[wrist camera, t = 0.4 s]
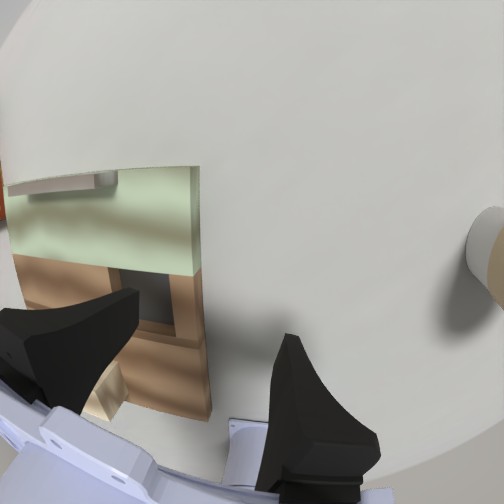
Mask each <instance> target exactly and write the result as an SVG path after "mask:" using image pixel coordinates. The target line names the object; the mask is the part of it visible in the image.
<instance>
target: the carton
mask: <svg viewBox="0 0 504 504" xmlns="http://www.w3.org/2000/svg"><path fill="white" fill-rule="evenodd" d="M3 186H4V184H3V178H2V170H1V162H0V221H1V220H3V219H5V218H6V213H5V204H4V193H3Z"/></svg>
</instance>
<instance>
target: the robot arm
mask: <svg viewBox="0 0 504 504" xmlns="http://www.w3.org/2000/svg"><path fill="white" fill-rule="evenodd" d="M139 295H140V291H139V290H136V289H133V288H130V287H128V288H125V289H121V290H118V291H116V292H113V293H110V294H107V295H104V296H101V297H98V298H96V299H92V300H89V301H86V302H82V303H79V304H75V305H71V306H66V307H60V308H52V309H42V310H22V309H11V308H4V309H2V310H1V311H0V435H1V436H2V437H3V438H4V439H5V440H6V441H7V442H8V443H9V444H10V445H11V446H12V447H13V448H14V449H16V450H17V451H18V452H19V454H18V455H17V457H16V458H15V459H14V461H13V462H12V463H11V465H10V466H9V467H8V469H7V470H6V472H5V473H4V474H3V476H2V477H1V479H0V504H395V500H394V495H393V488H391V487H389V488H378V489H367V490H364V491H361V492H360V485H361V484H363V475H364V474H365V473H366V472H367V471H368V470H370V469H371V468H372V467H373V466H374V465H375V464H376V463H377V462H378V461H379V459H380V457H381V453H380V447H379V442H378V438H377V435H376V433H374V432H373V431H371V430H370V429H368V428H367V427H366V426H364V425H363V424H361V423H360V422H359V421H358V420H356V419H355V418H354V417H353V416H352V415H350V414H349V413H348V412H347V411H346V410H345V409H344V408H343V407H342V406H341V405H340V404H339V403H338V402H337V401H336V399H335V398H334V397H333V396H332V395H331V393H330V392H329V391H328V390H327V388H326V387H325V386H324V384H323V383H322V381H321V380H320V378H319V376H318V375H317V373H316V371H315V370H314V368H313V366H312V364H311V362H310V360H309V358H308V356H307V354H306V352H305V350H304V347H303V345H302V343H301V340H300V338H299V336H296V335H292V334H287V333H285V336H284V339H283V341H282V344H281V347H280V350H279V352H278V355H277V358H276V360H275V363H274V366H273V372H272V378H271V385H270V404H269V421H268V423H262V422H252V421H244V420H236V419H230V420H229V439H230V450H229V454H228V458H227V462H226V466H225V470H224V474H223V478H222V482H221V484H220V483H216V482H212V481H208V480H204V479H201V478H197V477H194V476H190V475H187V474H184V473H181V472H178V471H175V470H172V469H169V468H166V467H163V466H161V465H158V464H157V463H156V462H155V460H154V459H153V457H152V456H151V455H150V454H149V453H147V452H146V451H145V450H144V449H142V448H141V447H139V446H137V445H135V444H133V443H132V442H130V441H128V440H126V439H124V438H121V437H119V436H117V435H115V434H113V433H111V432H109V431H107V430H105V429H103V428H101V427H99V426H97V425H95V424H94V423H92V422H90V421H88V420H86V419H85V418H83V417H81V416H80V414H81V412H82V410H83V408H84V406H85V404H86V402H87V400H88V398H89V396H90V394H91V392H92V390H93V389H94V387H95V385H96V383H97V382H98V380H99V378H100V377H101V375H102V374H103V372H104V371H105V369H106V368H107V367H108V365H109V364H110V363H111V362H112V361H113V359H114V358H115V357H116V356H117V355H118V353H119V352H120V351H121V350H122V348H123V347H124V346H125V345H126V344H127V342H128V341H129V340H130V338H131V337H132V335H133V334H134V332H135V330H136V329H137V327H138V325H139Z"/></svg>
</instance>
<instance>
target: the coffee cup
mask: <svg viewBox="0 0 504 504" xmlns="http://www.w3.org/2000/svg"><path fill="white" fill-rule="evenodd" d="M466 262H467V265H468V268H469V270H470V271H471V273H472V274H473V275H474V276H475V277H476V278H477V279H478V280H479V281H480V282H481V283H482V284H483V285H484V286H485V287H486V288H487V289H488V290H489V292H490V294H491V296H492V297H493V298H494V299H495V301H496V302H497V303H498V304H499V305H500V306H501V307H502V309H503V310H504V208H500V207H490V208H488V209H486V210H484V211H483V212H482V213H481V214H480V215H479V216H478V217H477V218H476V220H475V221H474V223H473V225H472V227H471V229H470V232H469V234H468V238H467V242H466Z"/></svg>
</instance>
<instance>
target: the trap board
mask: <svg viewBox="0 0 504 504" xmlns="http://www.w3.org/2000/svg"><path fill="white" fill-rule="evenodd" d="M3 193H4V204H5V213H6V220H7V227H8V233H9V239H10V245H11V250H12V255H13V259H14V264H15V268H16V272H17V276H18V280H19V284H20V287H21V291H22V294H23V298H24V301H25V304H26V307H27V310H42V309H52V308H60V307H66V306H71V305H75V304H79V303H82V302H86V301H89V300H92V299H96V298H98V297H101V296H104V295H107V294H110V293H113V292H116V291H118V290H121V289H125V288H128V287H130V288H133V289H136V290H139V291H140V295H139V325H138V327H137V329H136V330H135V332H134V334H133V335H132V337H131V338H130V340H129V341H128V342H127V344H126V345H125V346H124V347H123V348H122V350H121V351H120V352H119V353H118V355H117V356H116V357H115V358H114V359H113V360H114V361H117V362H118V363H119V366H120V369H121V372H122V375H123V378H124V381H125V384H126V386H127V389H128V392H129V393H128V395H127V396H126V398H125V400H124V401H127V402H130V403H133V404H136V405H140V406H143V407H146V408H150V409H154V410H157V411H161V412H165V413H169V414H173V415H177V416H181V417H186V418H190V419H195V420H200V421H205V422H208V420H209V417H210V414H211V411H212V404H211V395H210V385H209V375H208V365H207V353H206V341H205V328H204V313H203V296H202V277H201V252H200V213H199V166H174V167H150V168H133V169H119V170H108V171H97V172H87V173H79V174H70V175H63V176H56V177H49V178H42V179H36V180H30V181H24V182H19V183H14V184H10V185H6V186H3Z"/></svg>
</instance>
